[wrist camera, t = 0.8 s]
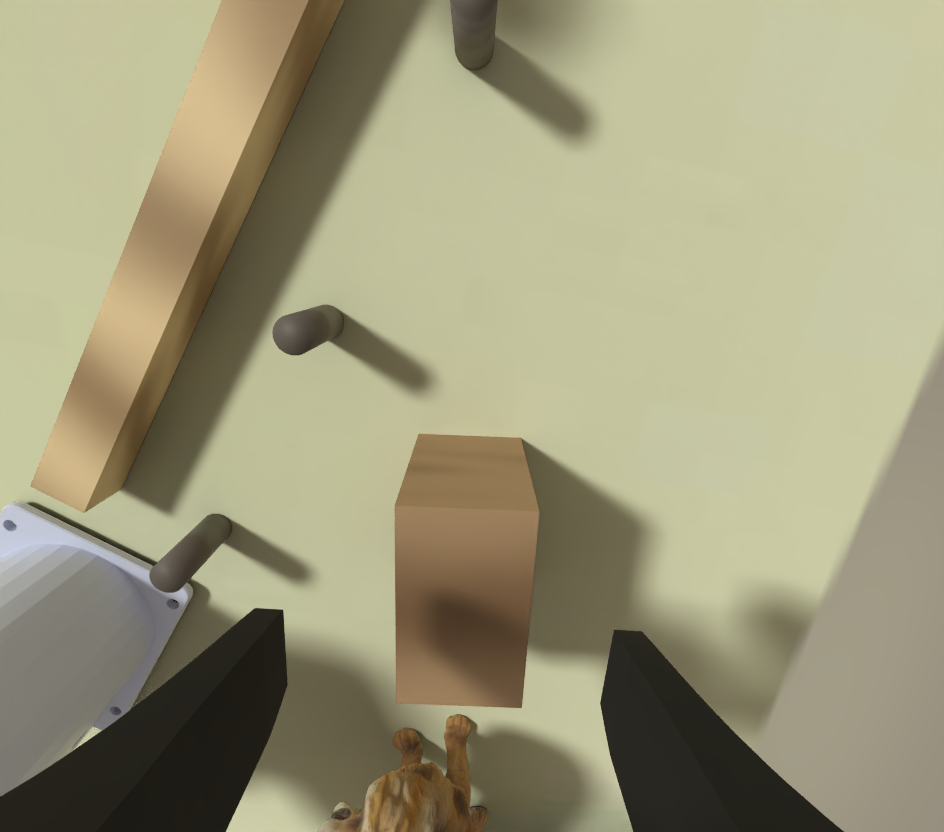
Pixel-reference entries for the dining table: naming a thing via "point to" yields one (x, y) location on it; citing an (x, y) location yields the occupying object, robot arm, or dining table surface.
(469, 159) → the dining table surface
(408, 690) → the wooden box
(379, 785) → the lion figurine
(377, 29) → the dining table surface
